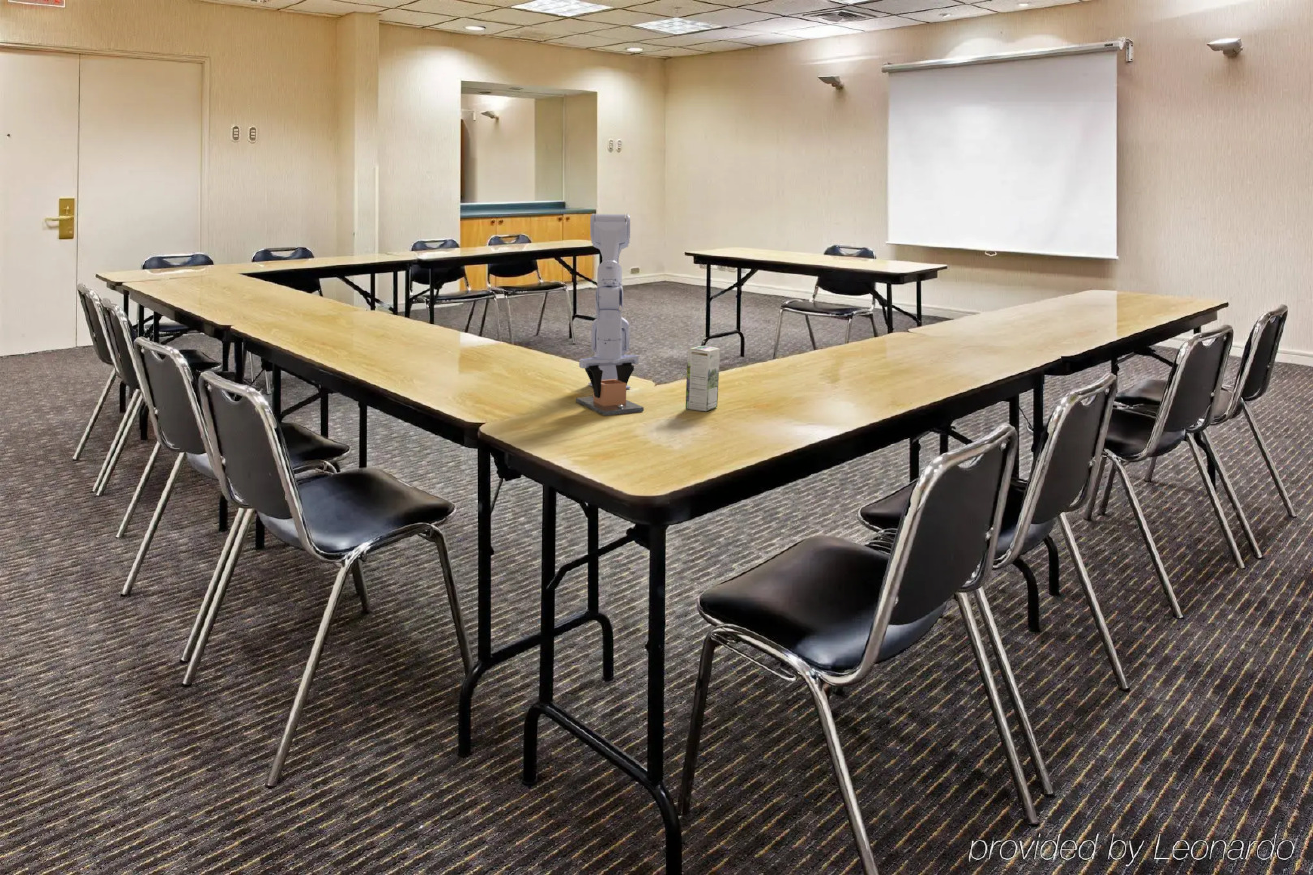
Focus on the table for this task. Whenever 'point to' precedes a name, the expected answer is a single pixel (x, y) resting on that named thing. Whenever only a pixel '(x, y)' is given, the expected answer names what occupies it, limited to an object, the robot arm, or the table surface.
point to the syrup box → (702, 378)
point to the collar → (611, 393)
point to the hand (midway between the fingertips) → (609, 395)
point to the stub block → (610, 407)
